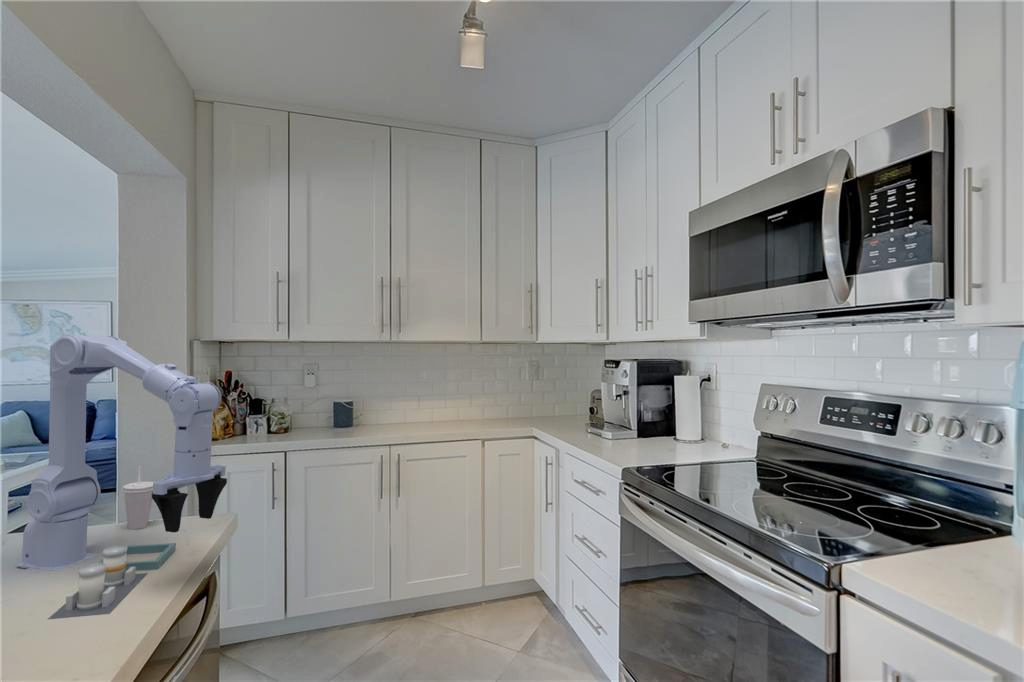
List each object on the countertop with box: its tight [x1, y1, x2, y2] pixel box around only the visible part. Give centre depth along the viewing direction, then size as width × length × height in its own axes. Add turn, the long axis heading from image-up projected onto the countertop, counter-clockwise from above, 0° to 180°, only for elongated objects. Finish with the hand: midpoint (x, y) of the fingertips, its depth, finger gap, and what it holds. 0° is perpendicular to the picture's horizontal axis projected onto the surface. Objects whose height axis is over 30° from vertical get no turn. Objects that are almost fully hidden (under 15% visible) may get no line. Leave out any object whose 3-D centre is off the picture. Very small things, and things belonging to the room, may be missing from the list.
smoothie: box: [122, 465, 155, 531], centre depth 120 cm, size 6×6×14 cm
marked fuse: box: [102, 544, 128, 588], centre depth 90 cm, size 3×3×6 cm
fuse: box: [77, 562, 106, 611], centre depth 83 cm, size 3×3×6 cm
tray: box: [98, 542, 177, 572], centre depth 100 cm, size 10×10×2 cm
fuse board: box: [47, 567, 149, 620], centre depth 86 cm, size 15×8×3 cm, turn 16°
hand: (189, 524), depth 94 cm, fingers open, 7 cm apart
